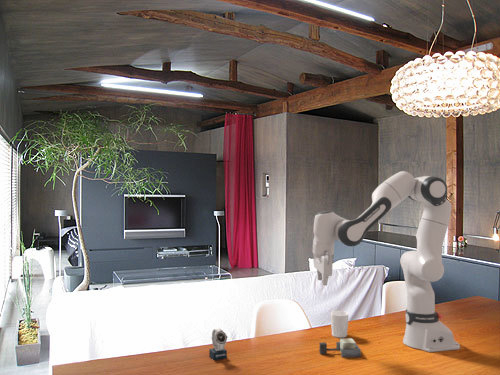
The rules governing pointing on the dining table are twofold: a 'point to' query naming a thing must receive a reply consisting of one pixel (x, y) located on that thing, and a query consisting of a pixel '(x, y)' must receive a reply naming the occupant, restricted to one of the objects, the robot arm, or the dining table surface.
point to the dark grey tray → (349, 351)
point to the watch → (218, 345)
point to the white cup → (339, 323)
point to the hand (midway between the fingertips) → (322, 282)
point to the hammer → (343, 345)
